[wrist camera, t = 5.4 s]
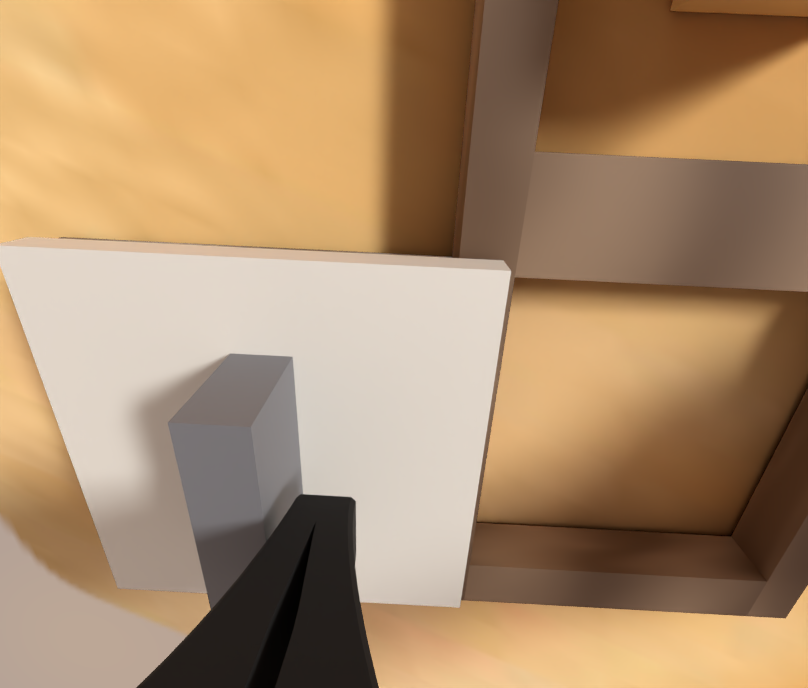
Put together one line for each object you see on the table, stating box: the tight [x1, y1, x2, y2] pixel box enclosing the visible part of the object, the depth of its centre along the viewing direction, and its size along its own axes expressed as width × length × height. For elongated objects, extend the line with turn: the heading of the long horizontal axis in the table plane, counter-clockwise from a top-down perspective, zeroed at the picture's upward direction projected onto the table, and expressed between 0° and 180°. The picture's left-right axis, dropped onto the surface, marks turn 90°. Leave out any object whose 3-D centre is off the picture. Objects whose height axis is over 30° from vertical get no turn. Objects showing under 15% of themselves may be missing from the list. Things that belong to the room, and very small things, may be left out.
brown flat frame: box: [61, 0, 808, 618], centre depth 11 cm, size 26×29×2 cm
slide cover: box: [0, 237, 511, 609], centre depth 11 cm, size 12×12×4 cm
